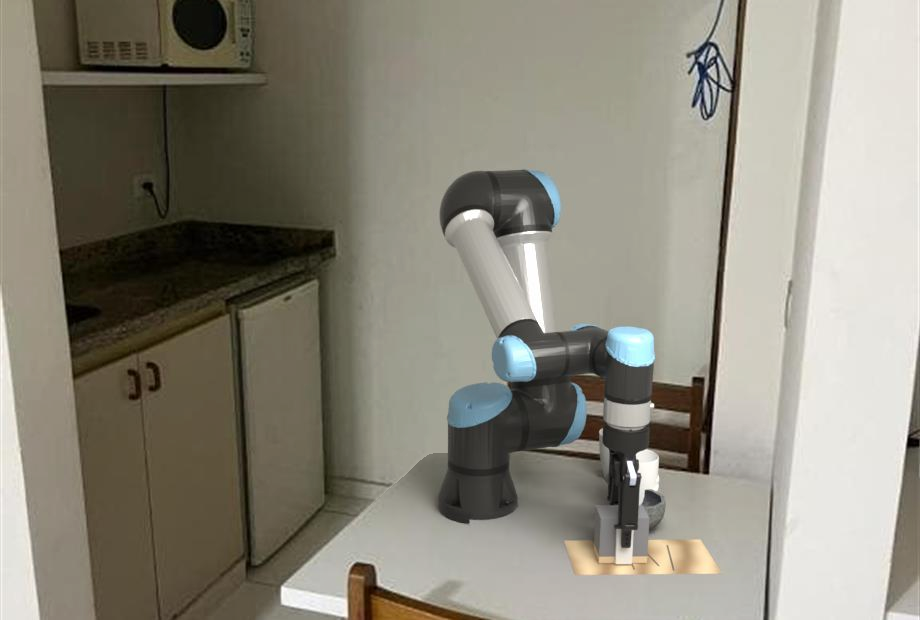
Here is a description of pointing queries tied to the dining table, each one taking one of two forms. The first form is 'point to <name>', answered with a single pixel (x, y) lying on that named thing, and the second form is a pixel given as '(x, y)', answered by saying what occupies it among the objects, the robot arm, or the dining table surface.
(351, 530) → the dining table surface
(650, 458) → the mug
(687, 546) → the board
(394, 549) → the dining table surface
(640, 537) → the block
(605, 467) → the cup
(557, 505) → the dining table surface
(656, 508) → the mortar and pestle
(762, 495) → the dining table surface
